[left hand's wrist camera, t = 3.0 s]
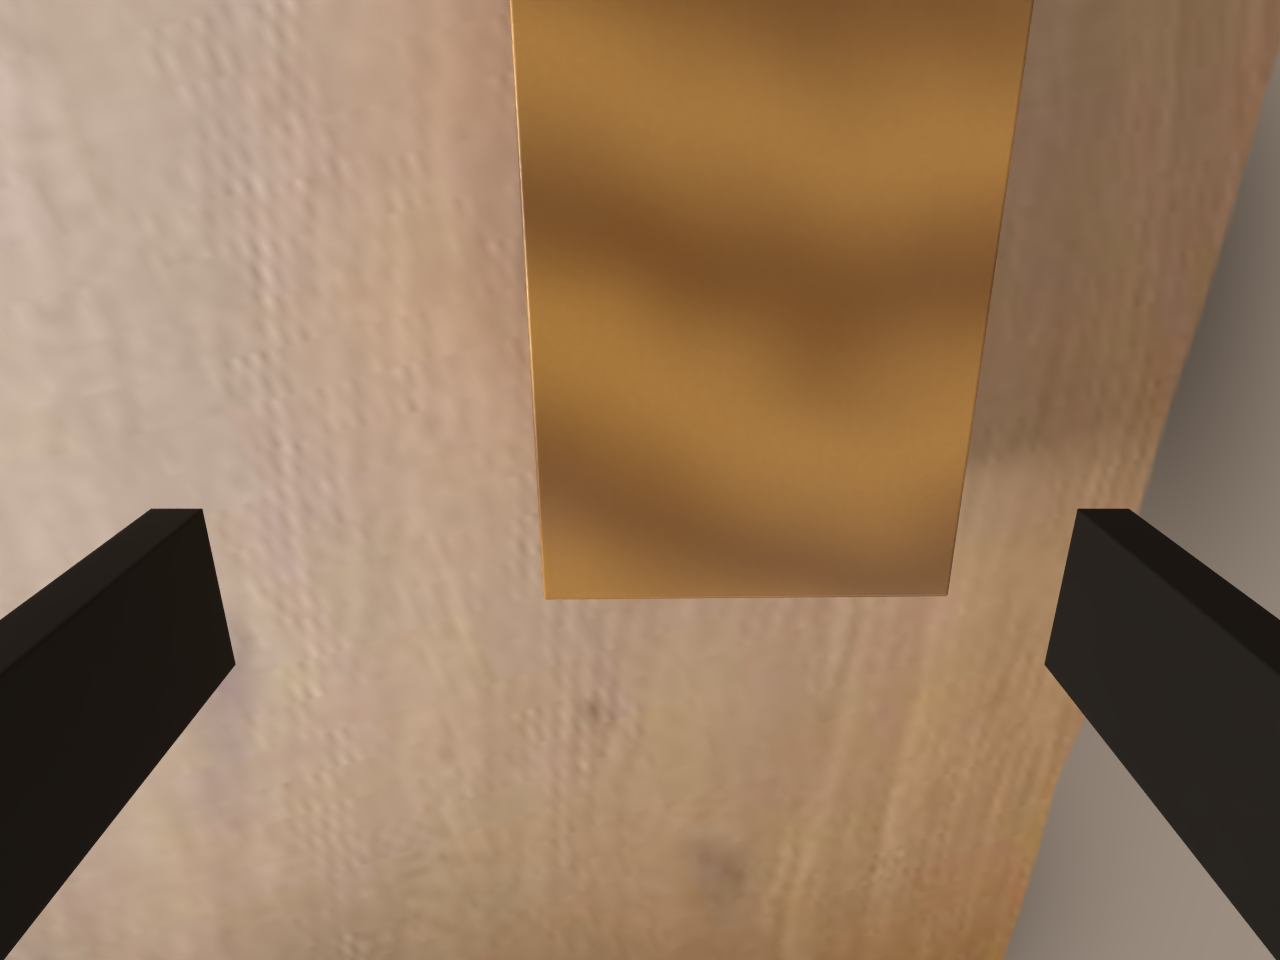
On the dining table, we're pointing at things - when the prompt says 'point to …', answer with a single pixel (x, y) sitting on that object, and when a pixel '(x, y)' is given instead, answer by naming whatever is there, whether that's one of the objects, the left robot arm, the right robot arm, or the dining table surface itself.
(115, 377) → the dining table surface
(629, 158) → the wooden rectangular box
